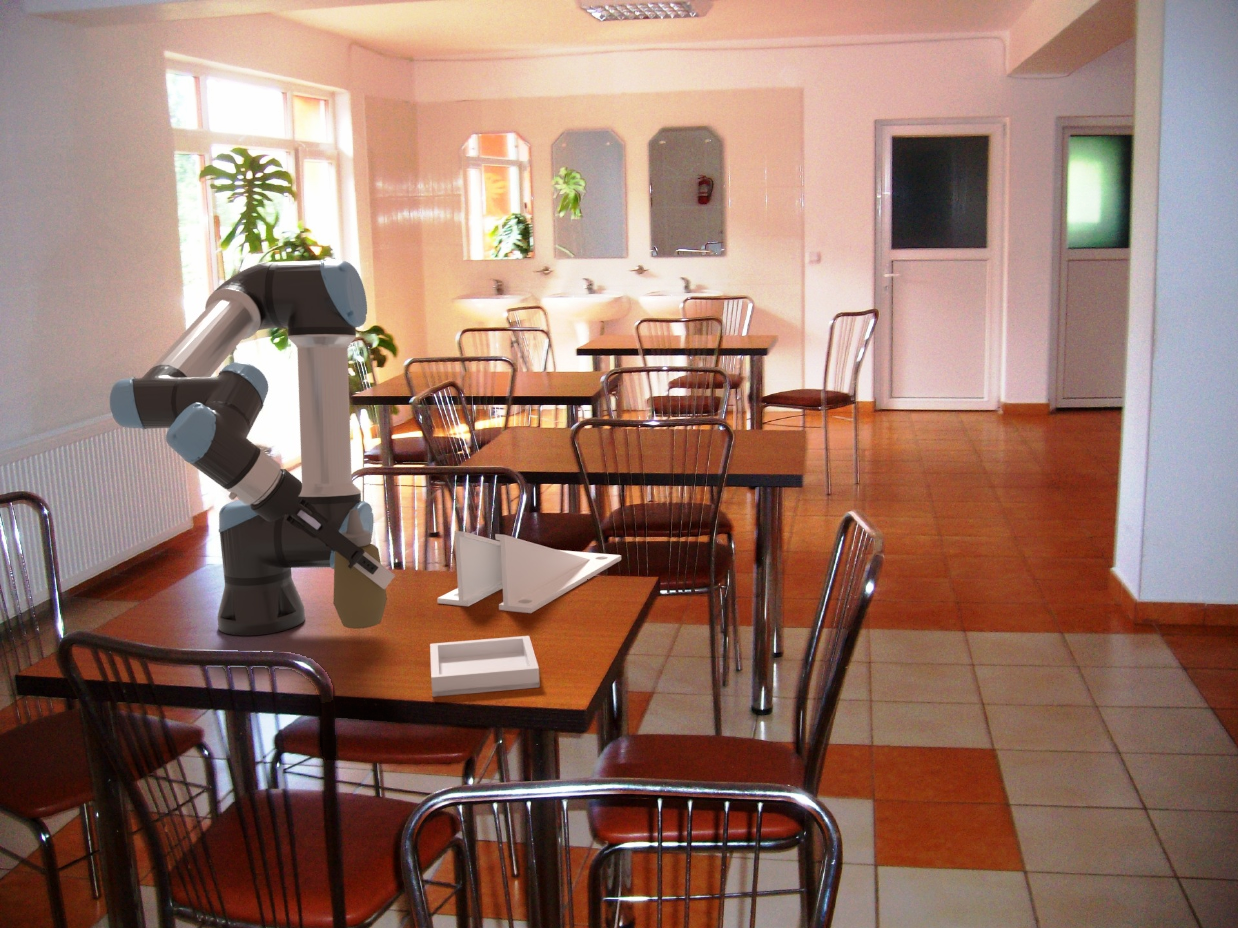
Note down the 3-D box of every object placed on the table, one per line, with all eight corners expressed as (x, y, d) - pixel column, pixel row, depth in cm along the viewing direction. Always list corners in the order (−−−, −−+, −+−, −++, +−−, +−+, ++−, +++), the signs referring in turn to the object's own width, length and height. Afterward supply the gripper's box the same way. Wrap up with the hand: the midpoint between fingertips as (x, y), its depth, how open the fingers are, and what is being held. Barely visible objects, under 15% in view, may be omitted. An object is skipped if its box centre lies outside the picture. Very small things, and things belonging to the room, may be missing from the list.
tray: (432, 696, 178) (431, 677, 178) (431, 661, 194) (430, 643, 193) (539, 687, 181) (538, 668, 180) (529, 653, 196) (529, 635, 196)
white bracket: (433, 529, 224) (535, 488, 260) (437, 603, 226) (537, 552, 262) (527, 536, 216) (619, 493, 252) (530, 613, 218) (621, 559, 254)
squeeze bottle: (376, 633, 180) (367, 516, 177) (326, 631, 182) (316, 515, 178) (396, 616, 188) (388, 504, 184) (348, 614, 189) (339, 503, 186)
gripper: (234, 495, 182) (347, 581, 193) (264, 519, 165) (386, 611, 176) (266, 457, 183) (376, 544, 194) (299, 477, 167) (418, 571, 178)
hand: (381, 576), depth 185 cm, fingers closed on squeeze bottle, 6 cm apart
